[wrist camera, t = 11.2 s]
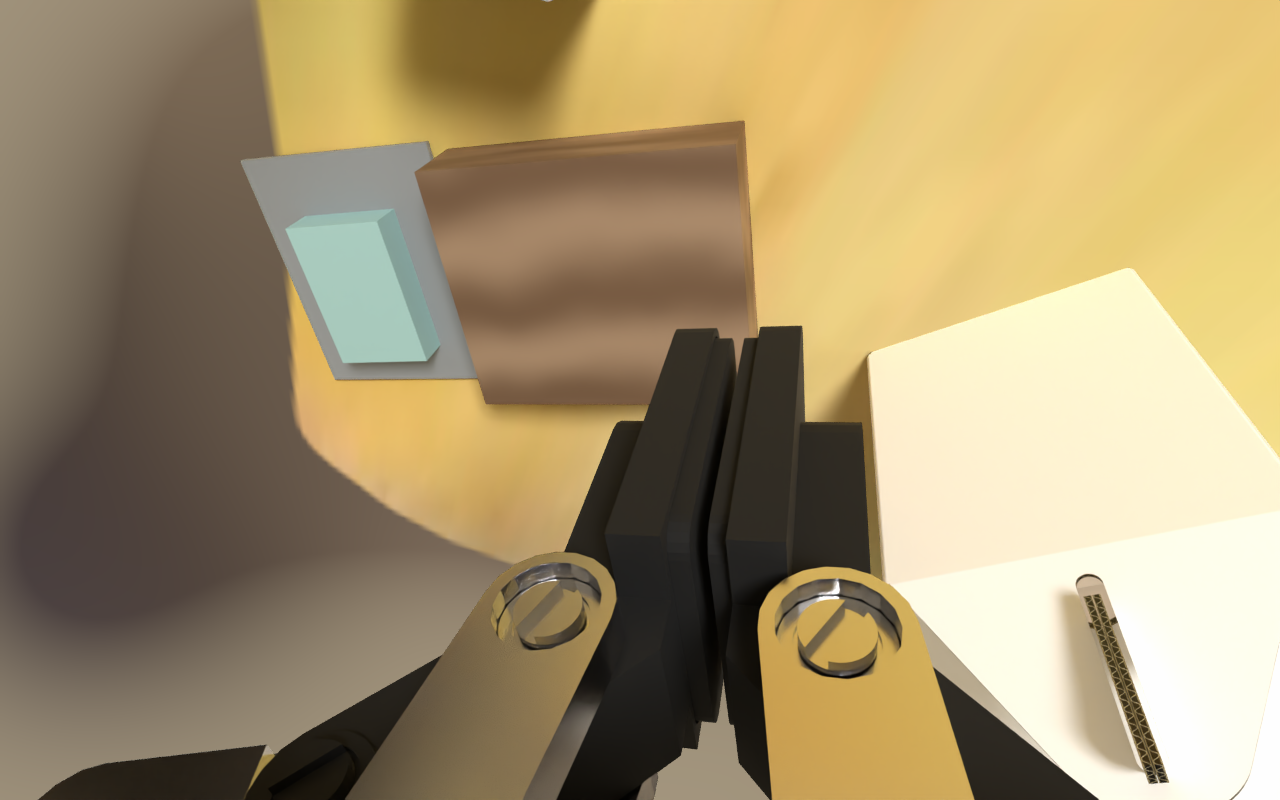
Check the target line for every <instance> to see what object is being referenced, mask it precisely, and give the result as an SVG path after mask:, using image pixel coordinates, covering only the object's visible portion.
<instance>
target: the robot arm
mask: <svg viewBox="0 0 1280 800" xmlns="http://www.w3.org/2000/svg"><path fill="white" fill-rule="evenodd" d="M723 679H724V686H725V694H726V701H727V709H728V717H729V723H730V724H731V725H734V728H735V736H736V744H737V752H738V759H739V763H740V765H742V767H743V768H744V769H745V771H746V772H747V773H748V774H749V775H750V776H751V778H752V779H753V780H754V781H755V783H756V784H757V785H758V786H759V787H760V789H761V790H762V791H763V792H764V793H765V795H766V796H767V797H768V798H769V799H770V800H1099V799H1098V798H1097V797H1095V796H1094V795H1093V794H1092V793H1090V792H1089V791H1088V790H1087V789H1085V788H1084V787H1083V786H1082V785H1080V784H1079V783H1078V782H1077V781H1075V780H1074V779H1073V778H1072V777H1070V776H1069V775H1068V774H1067V773H1065V772H1064V771H1063V770H1062V769H1060V768H1059V767H1058V766H1057V765H1055V764H1054V763H1053V762H1052V761H1050V760H1049V759H1048V758H1047V757H1045V756H1044V755H1043V754H1042V753H1040V752H1039V751H1038V750H1037V749H1035V748H1034V747H1033V746H1032V745H1030V744H1029V743H1028V742H1027V741H1025V740H1024V739H1023V738H1022V737H1020V736H1019V735H1018V734H1017V733H1015V732H1014V731H1013V730H1012V729H1010V728H1009V727H1008V726H1007V725H1005V724H1004V723H1003V722H1002V721H1000V720H999V719H998V718H997V717H995V716H994V715H993V714H992V713H990V712H989V711H988V710H987V709H985V708H984V707H983V706H982V705H980V704H979V703H978V702H977V701H975V700H974V699H973V698H972V697H970V696H969V695H968V694H967V693H965V692H964V691H963V690H962V689H960V688H959V687H958V686H957V685H955V684H954V683H953V682H952V681H950V680H949V679H948V678H947V677H945V676H944V675H943V674H942V673H940V672H939V671H938V670H937V669H935V668H934V667H933V666H932V662H931V659H930V656H929V653H928V649H927V646H926V643H925V640H924V637H923V633H922V630H921V627H920V624H919V621H918V619H917V617H916V615H915V613H914V611H913V609H912V608H911V606H910V604H909V602H908V601H907V600H906V599H905V598H904V597H903V596H902V595H901V594H900V593H899V592H898V591H897V590H896V589H895V588H894V587H893V586H891V585H889V584H887V583H886V582H884V581H882V580H880V579H879V578H877V577H875V576H873V575H871V573H870V555H869V537H868V519H867V500H866V482H865V464H864V446H863V429H862V423H845V422H805V403H804V363H803V331H802V326H775V327H760V331H759V337H758V338H744V342H743V347H742V352H741V357H740V362H739V368H738V373H737V371H736V359H735V347H734V341H733V338H720V336H719V332H718V329H717V328H695V329H676V331H675V333H674V336H673V339H672V342H671V345H670V347H669V350H668V353H667V356H666V359H665V362H664V365H663V367H662V370H661V373H660V376H659V379H658V382H657V385H656V387H655V390H654V393H653V396H652V399H651V402H650V405H649V407H648V410H647V413H646V416H645V419H644V421H620V422H618V423H617V424H616V426H615V427H614V429H613V431H612V434H611V436H610V439H609V441H608V444H607V446H606V449H605V451H604V454H603V456H602V459H601V461H600V464H599V466H598V469H597V471H596V474H595V476H594V479H593V481H592V484H591V486H590V489H589V491H588V494H587V496H586V499H585V501H584V504H583V506H582V509H581V511H580V514H579V516H578V519H577V521H576V524H575V526H574V529H573V531H572V534H571V536H570V539H569V541H568V544H567V546H566V549H565V551H564V552H554V553H548V554H543V555H537V556H534V557H532V558H529V559H527V560H525V561H522V562H520V563H517V564H516V565H514V566H513V567H511V568H510V569H508V570H507V571H505V572H504V573H503V574H501V575H500V576H499V577H498V578H497V579H496V580H495V581H494V582H493V584H492V585H491V586H490V587H489V588H488V589H487V590H486V592H485V593H484V594H483V596H482V597H481V599H480V601H479V602H478V603H477V605H476V606H475V608H474V609H473V611H472V612H471V614H470V615H469V616H468V618H467V619H466V621H465V622H464V624H463V625H462V627H461V629H460V630H459V631H458V633H457V634H456V636H455V637H454V639H453V640H452V642H451V643H450V645H449V646H448V648H447V649H446V650H445V652H444V654H443V655H441V656H440V657H438V658H436V659H434V660H433V661H431V662H429V663H427V664H425V665H424V666H422V667H420V668H419V669H417V670H415V671H413V672H411V673H410V674H408V675H406V676H404V677H403V678H401V679H399V680H397V681H396V682H394V683H392V684H390V685H389V686H387V687H385V688H383V689H381V690H380V691H378V692H376V693H374V694H373V695H371V696H369V697H367V698H366V699H364V700H362V701H360V702H359V703H357V704H355V705H353V706H352V707H350V708H348V709H346V710H344V711H343V712H341V713H339V714H337V715H336V716H334V717H332V718H330V719H329V720H327V721H325V722H324V723H322V724H320V725H318V726H317V727H315V728H313V729H311V730H309V731H308V732H306V733H304V734H302V735H301V736H300V737H298V738H297V739H295V740H294V741H293V742H291V743H290V744H288V745H287V746H285V747H284V748H283V749H281V750H280V751H279V752H278V753H276V754H273V752H272V751H271V750H270V748H269V747H268V745H259V746H250V747H242V748H233V749H225V750H216V751H208V752H198V753H190V754H182V755H173V756H165V757H156V758H147V759H139V760H130V761H121V762H113V763H105V764H101V765H98V766H94V767H91V768H87V769H84V770H81V771H79V772H77V773H76V774H74V775H72V776H70V777H69V778H67V779H65V780H63V781H61V782H60V783H58V784H56V785H55V786H54V787H53V788H51V789H50V790H49V791H48V792H47V793H45V794H44V795H43V796H42V797H41V798H39V799H38V800H653V799H654V796H655V792H656V786H657V781H658V773H657V772H659V771H660V770H661V769H663V768H664V767H666V766H667V765H668V764H670V763H671V762H672V761H674V760H675V759H677V758H678V757H679V756H681V752H682V748H690V749H697V748H698V742H699V735H700V728H701V722H702V721H704V722H713V723H716V721H717V718H718V714H719V708H720V701H721V693H722V686H723Z"/></svg>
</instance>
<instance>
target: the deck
mask: <svg viewBox="0 0 1280 800" xmlns="http://www.w3.org/2000/svg"><path fill="white" fill-rule="evenodd" d="M414 173H415V177H416V180H417V183H418V186H419V190H420V193H421V196H422V199H423V202H424V206H425V209H426V212H427V215H428V219H429V222H430V225H431V228H432V232H433V235H434V238H435V241H436V244H437V248H438V251H439V254H440V257H441V261H442V264H443V267H444V270H445V274H446V277H447V280H448V283H449V287H450V290H451V293H452V296H453V299H454V303H455V306H456V309H457V312H458V316H459V319H460V322H461V325H462V329H463V332H464V335H465V338H466V341H467V345H468V348H469V351H470V354H471V358H472V361H473V364H474V367H475V371H476V374H477V377H478V380H479V384H480V387H481V390H482V393H483V396H484V400H485V403H486V404H650V402H651V399H652V396H653V393H654V390H655V387H656V385H657V382H658V379H659V376H660V373H661V370H662V367H663V365H664V362H665V359H666V356H667V353H668V350H669V347H670V345H671V342H672V339H673V336H674V333H675V331H676V329H695V328H717V329H718V332H719V336H720V338H733V341H734V347H735V359H736V371H737V373H738V368H739V362H740V357H741V352H742V347H743V342H744V338H758V329H757V313H756V297H755V281H754V265H753V250H752V234H751V218H750V202H749V186H748V170H747V154H746V139H745V123H744V121H737V122H726V123H715V124H705V125H694V126H684V127H673V128H663V129H652V130H642V131H631V132H621V133H610V134H600V135H589V136H579V137H568V138H558V139H547V140H537V141H526V142H516V143H505V144H495V145H484V146H474V147H463V148H453V149H447V150H445V151H444V152H443V153H441V154H440V155H438V156H437V157H435V158H434V159H433V160H431V161H430V162H428V163H427V164H425V165H424V166H422V167H421V168H420V169H418V170H417V171H415V172H414Z"/></svg>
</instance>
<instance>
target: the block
mask: <svg viewBox="0 0 1280 800" xmlns="http://www.w3.org/2000/svg"><path fill="white" fill-rule="evenodd" d="M285 230H286V232H287V234H288V237H289V239H290V241H291V244H292V246H293V248H294V251H295V253H296V255H297V258H298V260H299V262H300V265H301V267H302V269H303V271H304V274H305V276H306V278H307V281H308V283H309V285H310V288H311V290H312V292H313V295H314V297H315V299H316V302H317V304H318V306H319V309H320V311H321V313H322V315H323V318H324V320H325V322H326V325H327V327H328V329H329V332H330V334H331V336H332V339H333V341H334V343H335V346H336V348H337V350H338V353H339V355H340V357H341V359H342V362H343V363H367V362H407V361H427V360H428V359H429V358H430V357H431V356H432V354H433V353H434V352H435V351H436V350H437V348H438V347H439V346H440V345H441V344H440V342H439V339H438V336H437V333H436V330H435V327H434V324H433V321H432V318H431V315H430V312H429V309H428V307H427V304H426V301H425V298H424V295H423V292H422V289H421V286H420V283H419V280H418V277H417V274H416V272H415V269H414V266H413V263H412V260H411V257H410V254H409V251H408V248H407V245H406V242H405V239H404V237H403V234H402V231H401V228H400V225H399V222H398V219H397V216H396V213H395V210H394V209H384V210H372V211H360V212H349V213H337V214H325V215H314V216H305V217H303V218H301V219H300V220H298V221H297V222H295V223H294V224H292V225H290V226H289V227H287V228H286V229H285Z"/></svg>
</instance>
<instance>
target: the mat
mask: <svg viewBox="0 0 1280 800" xmlns="http://www.w3.org/2000/svg"><path fill="white" fill-rule="evenodd" d="M431 160H433V155H432V152H431V149H430V145H429V142H428V141H425V142H415V143H405V144H395V145H385V146H375V147H364V148H354V149H344V150H334V151H324V152H314V153H304V154H294V155H283V156H273V157H263V158H254V159H244V160H241V164H242V166H243V169H244V171H245V173H246V175H247V178H248V180H249V182H250V184H251V187H252V189H253V192H254V194H255V196H256V199H257V201H258V203H259V205H260V207H261V210H262V212H263V214H264V217H265V219H266V221H267V224H268V226H269V228H270V231H271V233H272V235H273V238H274V240H275V242H276V244H277V247H278V249H279V251H280V254H281V256H282V258H283V261H284V263H285V265H286V268H287V270H288V272H289V275H290V277H291V279H292V281H293V284H294V286H295V288H296V291H297V293H298V295H299V298H300V300H301V302H302V304H303V307H304V309H305V311H306V314H307V316H308V318H309V321H310V323H311V325H312V328H313V330H314V332H315V334H316V337H317V339H318V341H319V344H320V346H321V348H322V351H323V353H324V355H325V357H326V360H327V362H328V364H329V367H330V369H331V371H332V374H333V376H334V378H335V380H337V379H455V378H478V377H477V374H476V371H475V367H474V364H473V361H472V358H471V354H470V351H469V348H468V345H467V341H466V338H465V335H464V332H463V329H462V325H461V322H460V319H459V316H458V312H457V309H456V306H455V303H454V299H453V296H452V293H451V290H450V287H449V283H448V280H447V277H446V274H445V270H444V267H443V264H442V261H441V257H440V254H439V251H438V248H437V244H436V241H435V238H434V235H433V232H432V228H431V225H430V222H429V219H428V215H427V212H426V209H425V206H424V202H423V199H422V196H421V193H420V190H419V186H418V183H417V180H416V177H415V173H414V172H415V171H417V170H418V169H420V168H421V167H422V166H424V165H425V164H427V163H428V162H430V161H431ZM384 209H394V210H395V213H396V216H397V219H398V222H399V225H400V228H401V231H402V234H403V237H404V239H405V242H406V245H407V248H408V251H409V254H410V257H411V260H412V263H413V266H414V269H415V272H416V274H417V277H418V280H419V283H420V286H421V289H422V292H423V295H424V298H425V301H426V304H427V307H428V309H429V312H430V315H431V318H432V321H433V324H434V327H435V330H436V333H437V336H438V339H439V342H440V344H441V345H440V346H439V347H438V348H437V350H436V351H435V352H434V353H433V354H432V356H431V357H430V358H429V359H428V360H427V361H407V362H367V363H343V362H342V359H341V357H340V355H339V353H338V350H337V348H336V346H335V343H334V341H333V339H332V336H331V334H330V332H329V329H328V327H327V325H326V322H325V320H324V318H323V315H322V313H321V311H320V309H319V306H318V304H317V302H316V299H315V297H314V295H313V292H312V290H311V288H310V285H309V283H308V281H307V278H306V276H305V274H304V271H303V269H302V267H301V265H300V262H299V260H298V258H297V255H296V253H295V251H294V248H293V246H292V244H291V241H290V239H289V237H288V234H287V232H286V230H285V229H286V228H287V227H289V226H290V225H292V224H294V223H295V222H297V221H298V220H300V219H301V218H303V217H305V216H314V215H325V214H337V213H349V212H360V211H372V210H384Z"/></svg>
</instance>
